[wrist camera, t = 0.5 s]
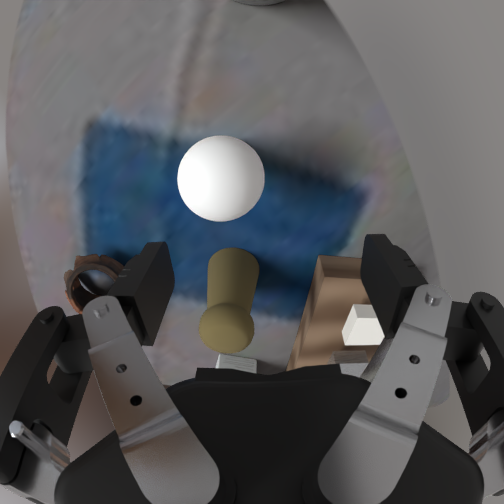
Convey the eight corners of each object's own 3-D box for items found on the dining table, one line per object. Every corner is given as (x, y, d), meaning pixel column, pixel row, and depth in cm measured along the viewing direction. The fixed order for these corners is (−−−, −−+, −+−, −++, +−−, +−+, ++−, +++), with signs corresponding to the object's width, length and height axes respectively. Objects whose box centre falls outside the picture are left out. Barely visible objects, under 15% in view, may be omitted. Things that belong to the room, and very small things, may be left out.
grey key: (333, 350, 34) (335, 363, 32) (365, 350, 34) (368, 362, 33) (323, 370, 37) (325, 382, 35) (354, 369, 37) (356, 381, 35)
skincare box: (248, 377, 48) (247, 414, 42) (213, 372, 48) (209, 409, 41) (257, 358, 45) (256, 398, 39) (219, 352, 44) (214, 392, 38)
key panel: (318, 254, 33) (324, 276, 30) (401, 261, 34) (412, 282, 30) (285, 372, 47) (286, 392, 44) (346, 372, 47) (350, 391, 44)
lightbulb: (204, 182, 29) (178, 241, 20) (194, 123, 26) (158, 154, 16) (265, 176, 28) (268, 234, 19) (260, 116, 25) (260, 141, 16)
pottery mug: (62, 253, 35) (47, 270, 28) (122, 233, 38) (119, 245, 31) (92, 328, 39) (86, 357, 31) (148, 310, 42) (152, 337, 34)
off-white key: (353, 304, 30) (357, 317, 28) (389, 305, 30) (394, 318, 28) (341, 331, 32) (344, 345, 30) (375, 331, 32) (379, 344, 31)
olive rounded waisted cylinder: (197, 261, 34) (178, 333, 25) (241, 239, 33) (234, 311, 23) (226, 295, 37) (217, 367, 28) (268, 276, 35) (270, 351, 26)
